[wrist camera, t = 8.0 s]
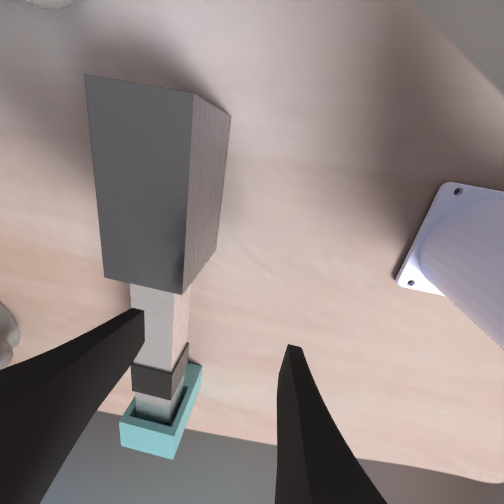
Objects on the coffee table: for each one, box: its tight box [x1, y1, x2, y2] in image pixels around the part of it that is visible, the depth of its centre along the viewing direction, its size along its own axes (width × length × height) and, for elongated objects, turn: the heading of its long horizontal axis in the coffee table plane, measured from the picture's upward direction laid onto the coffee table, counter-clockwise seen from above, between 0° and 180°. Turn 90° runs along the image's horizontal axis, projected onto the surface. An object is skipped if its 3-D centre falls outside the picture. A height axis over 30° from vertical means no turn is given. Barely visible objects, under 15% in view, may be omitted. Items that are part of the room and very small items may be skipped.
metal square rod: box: [130, 283, 191, 427], centre depth 18 cm, size 3×20×3 cm, turn 170°
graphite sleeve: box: [84, 74, 231, 295], centre depth 15 cm, size 5×10×7 cm, turn 170°
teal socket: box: [119, 362, 202, 460], centre depth 23 cm, size 5×4×7 cm
